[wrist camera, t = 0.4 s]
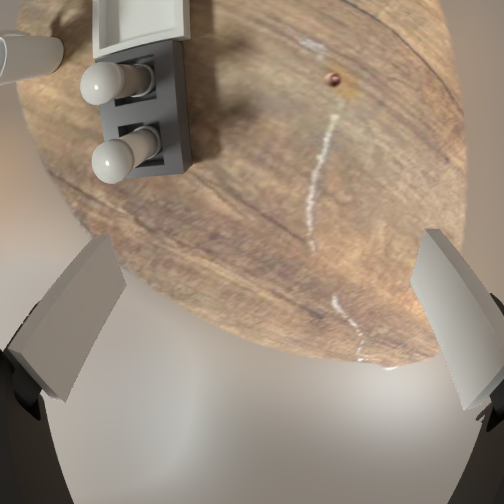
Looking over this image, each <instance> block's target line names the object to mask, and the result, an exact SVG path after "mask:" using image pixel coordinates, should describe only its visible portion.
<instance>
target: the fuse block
mask: <svg viewBox="0 0 504 504" xmlns="http://www.w3.org/2000/svg"><path fill="white" fill-rule="evenodd" d="M98 62H113V63H116V64H125V65H134V64H148V65H150V66H152V67H153V68H154V69H155V83H156V87H155V89H154V90H153V91H152V92H151V93H149V94H148V95H145V96H140V97H131V96H130V97H124V98H119V99H115V100H113V101H111V102H108V103H104V104H99V107H100V115H101V122H102V129H103V136H104V142H107V141H109V140H111V139H118V138H120V137H122V136H124V135H127V134H129V133H131V132H133V131H134V130H135V129H137V128H139V127H142V126H144V125H153V126H156V127H157V128H159V129H160V133H161V141H162V150H161V151H160V152H159V153H158V154H157V155H155V156H154V157H152V158H150V159H147V160H145V161H144V162H142V163H141V164H139V165H138V166H137V167H135V168H134V169H132V171H131V172H130V174H129V175H127V176H126V177H125V178H123V179H127V178H137V177H147V176H159V175H172V174H184V173H185V172H186V171H187V170H188V169H189V168H190V167H191V166H192V164H193V163H192V154H191V144H190V134H189V123H188V111H187V99H186V86H185V71H184V55H183V44H182V43H179V42H177V41H174V40H169V41H164V42H159V43H154V44H150V45H146V46H142V47H138V48H134V49H130V50H126V51H123V52H119V53H116V54H113V55H109V56H106V57H103V58H100V59H97V60H95V63H98Z"/></svg>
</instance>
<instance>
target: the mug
mask: <svg viewBox="0 0 504 504" xmlns="http://www.w3.org/2000/svg"><path fill="white" fill-rule="evenodd" d="M63 52H64V48H63V44H62V42H61V40H60V39H58V38H55V37H44V36H30V34H29V33H26V32H22V31H18V30H2V31H0V85H4V84H8V83H12V82H16V81H21V80H25V79H30V78H36V77H41V76H46V75H49V74H51V73H53V72H54V71H55V70H56V69H57V68H58V66H59V65H60V63H61V61H62V58H63Z"/></svg>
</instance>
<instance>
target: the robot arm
mask: <svg viewBox="0 0 504 504" xmlns="http://www.w3.org/2000/svg"><path fill="white" fill-rule="evenodd" d="M410 284H411V286H412V288H413V290H414V292H415V294H416V296H417V298H418V300H419V302H420V304H421V306H422V308H423V310H424V312H425V314H426V316H427V318H428V321H429V323H430V325H431V327H432V329H433V332H434V334H435V336H436V339H437V341H438V343H439V346H440V348H441V350H442V353H443V355H444V358H445V360H446V363H447V365H448V368H449V370H450V373H451V376H452V378H453V381H454V384H455V387H456V390H457V392H458V396H459V399H460V402H461V405H462V408H463V410H464V411H465V410H468V409H471V408H474V407H477V406H480V405H481V404H482V403H483V402H484V401H485V399H487V398H488V397H489V396H490V398H491V401H492V402H491V403H490V404H489V405H488V406H487V407H486V408H485V409H484V410H483V411H482V412H481V413H480V414H479V415H478V416H477V418H476V420H477V421H478V420H479V419H480V418H481V417H482V416H484V415H485V417H484V419H483V420H482V426H481V429H480V432H479V435H478V438H477V441H476V443H475V446H474V448H473V451H472V453H471V456H470V458H469V461H468V463H467V465H466V467H465V470H464V472H463V474H462V476H461V478H460V480H459V482H458V485H457V487H456V489H455V491H454V493H453V495H452V496H451V498H450V500H449V502H448V504H504V305H503V304H502V302H501V301H500V300H499V299H497V298H496V297H495V296H494V295H493V294H492V293H490V294H489V293H488V291H487V290H486V288H485V287H484V285H483V284H482V282H481V281H480V280H479V278H478V277H477V276H476V274H475V273H474V272H473V270H472V269H471V268H470V266H469V265H468V264H467V262H466V261H465V260H464V258H463V257H462V256H461V255H460V253H459V252H458V251H457V250H456V248H455V247H454V246H453V245H452V243H451V242H450V241H449V240H448V239H447V237H446V236H445V235H444V234H443V233H442V232H441V230H440V229H424V233H423V237H422V241H421V245H420V249H419V253H418V256H417V260H416V264H415V267H414V270H413V274H412V277H411V280H410ZM125 287H126V283H125V280H124V277H123V275H122V272H121V269H120V266H119V264H118V261H117V258H116V255H115V252H114V249H113V246H112V243H111V240H110V237H109V235H95V236H94V237H93V238H92V240H91V241H90V242H89V243H88V244H87V245H86V246H85V247H84V248H83V250H82V251H81V252H80V253H79V254H78V255H77V257H76V258H75V259H74V260H73V261H72V262H71V263H70V265H69V266H68V267H67V268H66V269H65V270H64V272H63V273H62V274H61V275H60V277H59V278H58V279H57V280H56V282H55V283H54V284H53V285H52V287H51V288H50V289H49V290H48V292H47V293H46V294H45V296H44V297H43V298H42V300H40V301H39V302H38V303H37V304H36V305H35V306H34V307H33V309H32V310H31V311H30V313H29V316H27V317H26V319H25V320H24V321H23V324H21V325H20V327H19V328H18V330H17V331H16V333H15V334H14V336H13V337H12V339H11V341H10V342H9V344H8V345H7V346H6V348H5V349H4V351H3V352H2V350H1V349H0V504H74V503H73V500H72V498H71V495H70V493H69V490H68V488H67V485H66V482H65V479H64V476H63V473H62V471H61V467H60V464H59V461H58V458H57V455H56V451H55V448H54V444H53V440H52V437H51V432H50V428H49V423H48V419H47V414H46V409H45V404H44V400H43V397H42V396H41V395H40V392H41V390H42V389H43V390H44V391H45V392H46V393H47V394H48V395H49V396H50V397H51V398H53V399H55V400H58V401H61V402H63V403H65V402H66V400H67V398H68V396H69V393H70V391H71V389H72V387H73V385H74V383H75V381H76V378H77V376H78V374H79V372H80V370H81V368H82V366H83V364H84V362H85V360H86V358H87V356H88V354H89V352H90V350H91V348H92V346H93V344H94V342H95V340H96V339H97V337H98V335H99V333H100V331H101V329H102V327H103V325H104V324H105V322H106V320H107V318H108V316H109V315H110V313H111V311H112V309H113V307H114V306H115V304H116V302H117V300H118V299H119V297H120V295H121V294H122V292H123V290H124V289H125Z"/></svg>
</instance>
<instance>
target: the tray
mask: <svg viewBox="0 0 504 504" xmlns="http://www.w3.org/2000/svg"><path fill="white" fill-rule="evenodd" d="M92 37H93V59H100V58H103V57H106V56H109V55H113V54H116V53H119V52H123V51H126V50H130V49H134V48H138V47H142V46H146V45H150V44H154V43H159V42H164V41H169V40H174V41H182V40H188V39H191V32H190V3H189V0H93V8H92Z"/></svg>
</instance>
